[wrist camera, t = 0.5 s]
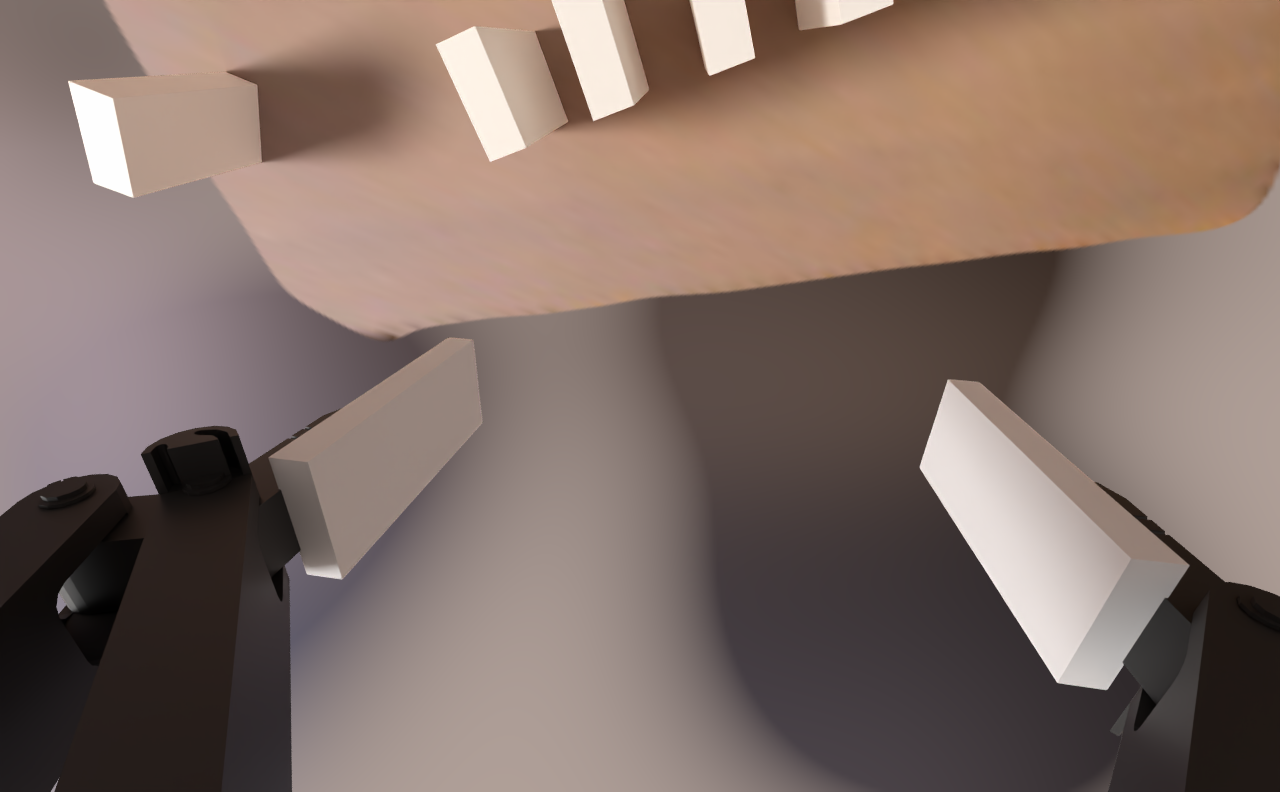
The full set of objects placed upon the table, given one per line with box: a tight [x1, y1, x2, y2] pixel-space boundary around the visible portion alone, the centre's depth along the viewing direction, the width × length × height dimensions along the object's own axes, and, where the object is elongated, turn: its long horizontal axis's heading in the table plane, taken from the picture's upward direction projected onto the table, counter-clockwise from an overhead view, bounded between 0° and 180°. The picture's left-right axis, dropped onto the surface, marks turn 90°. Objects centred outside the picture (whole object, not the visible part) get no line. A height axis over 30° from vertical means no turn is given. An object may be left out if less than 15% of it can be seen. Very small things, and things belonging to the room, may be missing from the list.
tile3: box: [552, 0, 649, 121], centre depth 26 cm, size 2×5×10 cm, turn 19°
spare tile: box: [68, 72, 262, 198], centre depth 30 cm, size 2×5×10 cm, turn 159°
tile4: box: [689, 0, 755, 76], centre depth 25 cm, size 2×5×10 cm, turn 19°
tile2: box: [436, 26, 568, 162], centre depth 27 cm, size 2×5×10 cm, turn 19°
